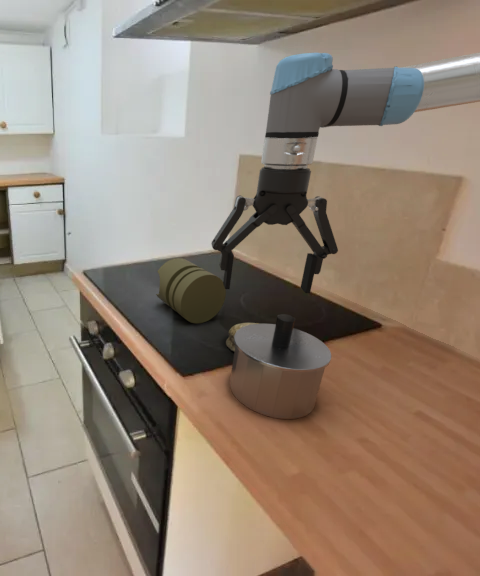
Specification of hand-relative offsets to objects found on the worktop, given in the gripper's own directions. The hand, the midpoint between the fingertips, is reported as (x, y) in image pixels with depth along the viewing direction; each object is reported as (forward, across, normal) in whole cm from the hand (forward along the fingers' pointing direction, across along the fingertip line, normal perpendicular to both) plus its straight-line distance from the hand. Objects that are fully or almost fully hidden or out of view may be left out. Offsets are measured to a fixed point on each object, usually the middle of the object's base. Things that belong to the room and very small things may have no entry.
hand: (265, 288), depth 69 cm
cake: (+13, 0, 0) cm, 13 cm away
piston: (+12, -12, +14) cm, 23 cm away
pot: (+12, 0, -14) cm, 19 cm away
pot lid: (+4, 0, -14) cm, 15 cm away
